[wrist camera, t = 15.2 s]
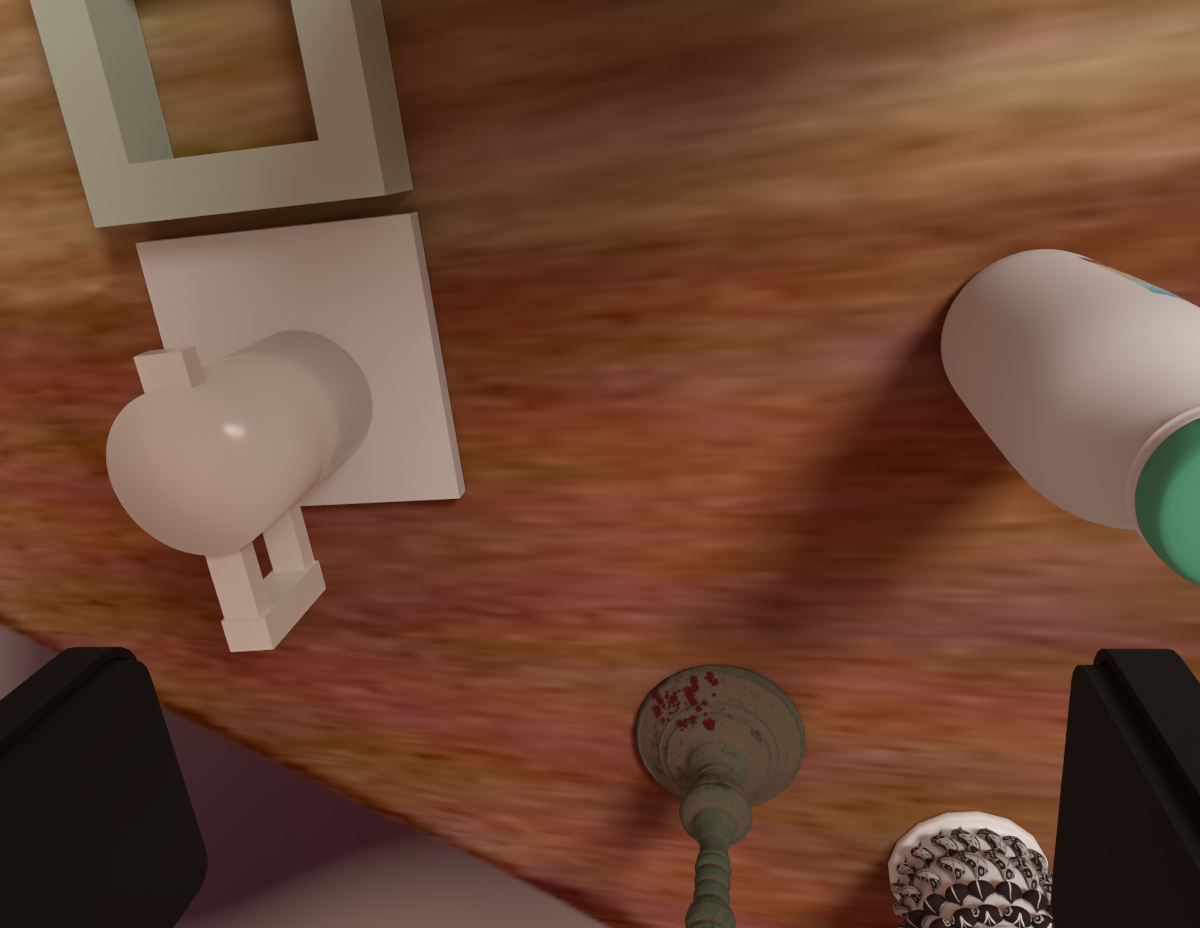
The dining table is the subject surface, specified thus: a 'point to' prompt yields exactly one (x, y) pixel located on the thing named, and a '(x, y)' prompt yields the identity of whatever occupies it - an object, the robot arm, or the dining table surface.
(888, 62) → the dining table surface
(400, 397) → the tile
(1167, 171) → the dining table surface
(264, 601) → the capsule with loop handle
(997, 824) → the decorative candle
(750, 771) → the candlestick holder
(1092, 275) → the milk bottle
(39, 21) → the holder
